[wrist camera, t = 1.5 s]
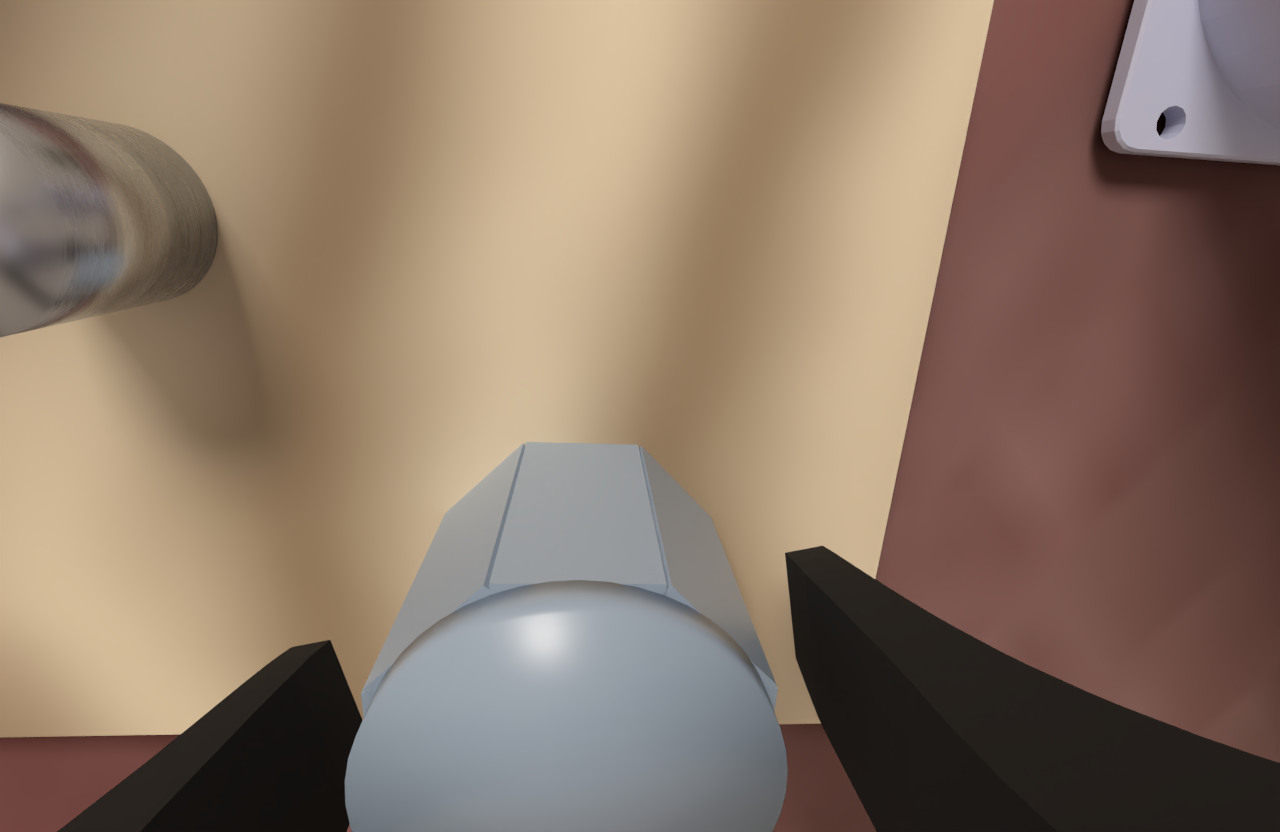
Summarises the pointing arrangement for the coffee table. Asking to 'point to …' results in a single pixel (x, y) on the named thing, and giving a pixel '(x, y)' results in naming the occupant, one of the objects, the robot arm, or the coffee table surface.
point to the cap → (571, 665)
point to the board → (462, 310)
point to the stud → (94, 220)
